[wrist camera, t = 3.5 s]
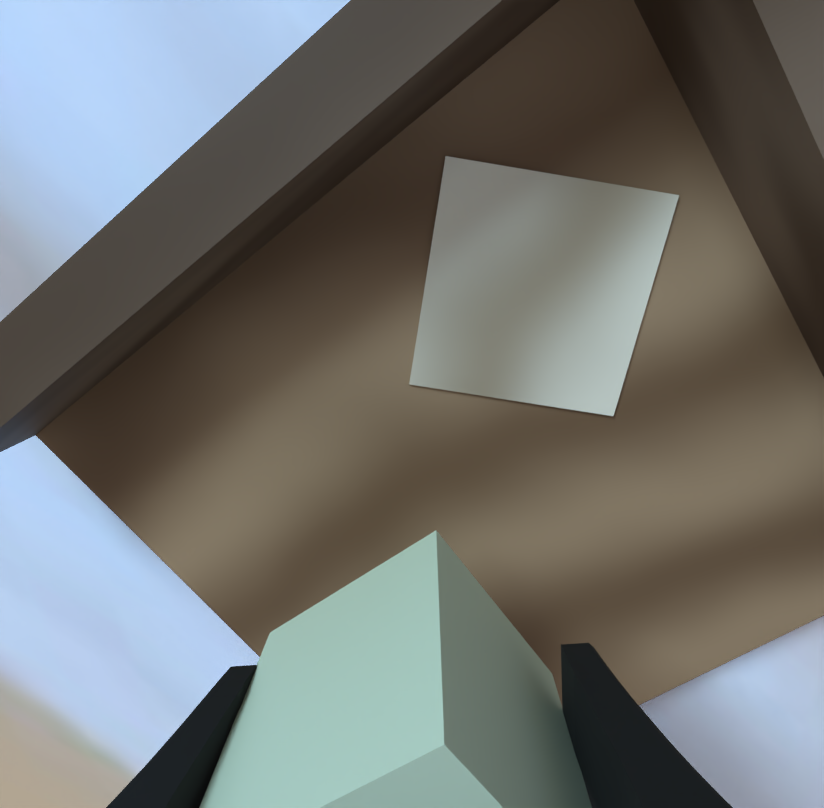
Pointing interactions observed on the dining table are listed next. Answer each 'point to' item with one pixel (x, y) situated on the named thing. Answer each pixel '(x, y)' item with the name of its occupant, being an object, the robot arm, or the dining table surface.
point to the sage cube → (400, 703)
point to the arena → (475, 327)
